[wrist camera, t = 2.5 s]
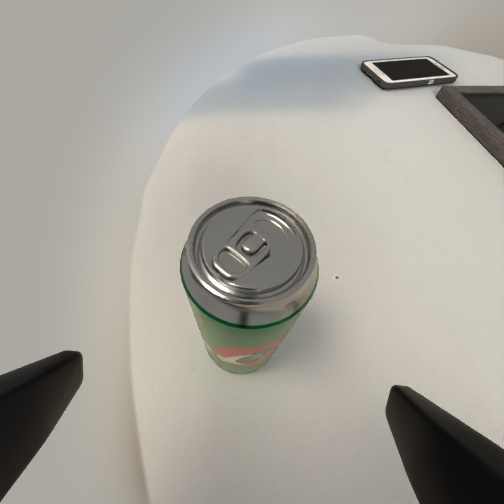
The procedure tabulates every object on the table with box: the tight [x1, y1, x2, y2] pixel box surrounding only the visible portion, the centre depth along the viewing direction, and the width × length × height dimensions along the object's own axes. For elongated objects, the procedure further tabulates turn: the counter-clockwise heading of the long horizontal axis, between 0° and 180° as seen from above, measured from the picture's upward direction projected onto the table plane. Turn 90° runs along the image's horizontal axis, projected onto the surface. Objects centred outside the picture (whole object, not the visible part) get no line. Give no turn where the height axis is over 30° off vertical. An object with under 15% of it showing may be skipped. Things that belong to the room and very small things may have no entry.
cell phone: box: [360, 56, 458, 89], centre depth 43 cm, size 8×15×1 cm, turn 108°
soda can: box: [180, 197, 319, 374], centre depth 14 cm, size 5×5×12 cm
